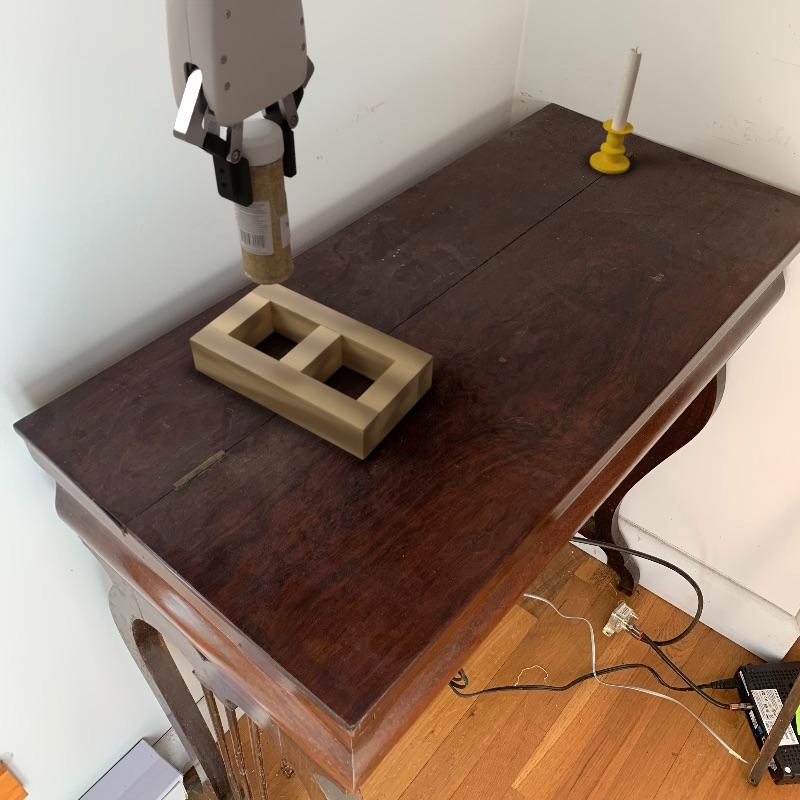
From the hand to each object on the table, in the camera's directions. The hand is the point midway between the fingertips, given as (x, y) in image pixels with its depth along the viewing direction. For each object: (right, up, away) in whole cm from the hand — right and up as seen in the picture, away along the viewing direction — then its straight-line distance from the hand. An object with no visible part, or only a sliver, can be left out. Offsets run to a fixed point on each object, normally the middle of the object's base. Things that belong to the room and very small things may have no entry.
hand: (258, 183), depth 65 cm
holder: (+3, -15, +12) cm, 20 cm away
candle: (+39, +14, +42) cm, 60 cm away
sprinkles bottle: (0, -6, +6) cm, 9 cm away
